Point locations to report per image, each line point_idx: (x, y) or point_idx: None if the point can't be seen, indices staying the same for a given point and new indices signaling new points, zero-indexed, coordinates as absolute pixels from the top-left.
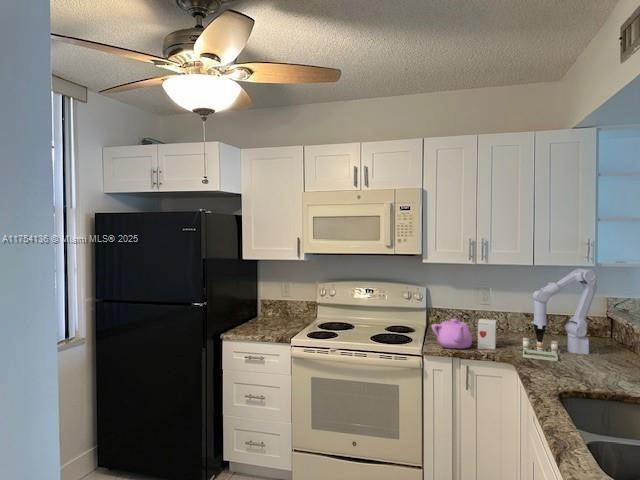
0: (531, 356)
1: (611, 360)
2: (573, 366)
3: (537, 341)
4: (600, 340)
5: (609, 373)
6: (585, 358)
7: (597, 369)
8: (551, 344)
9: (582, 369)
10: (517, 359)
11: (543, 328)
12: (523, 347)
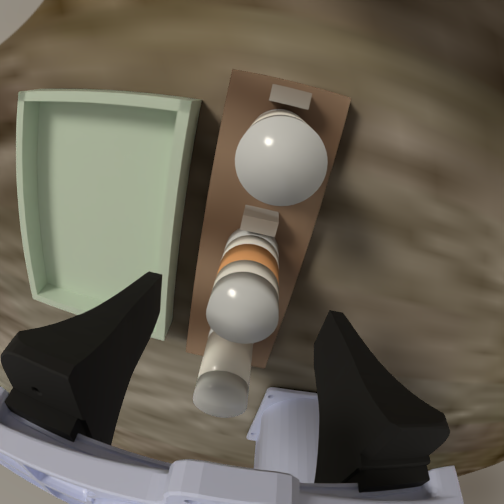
0: (21, 150)
1: (214, 461)
2: None
3: (226, 279)
4: (474, 461)
5: None
6: (208, 419)
7: None
8: (211, 364)
9: None
10: (24, 58)
11: (321, 460)
12: (264, 113)
